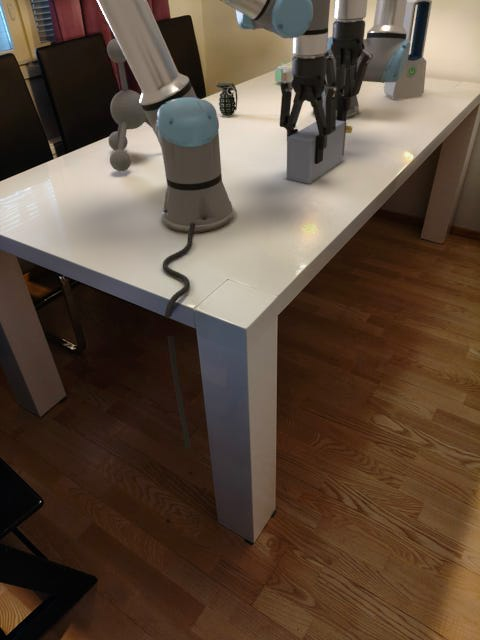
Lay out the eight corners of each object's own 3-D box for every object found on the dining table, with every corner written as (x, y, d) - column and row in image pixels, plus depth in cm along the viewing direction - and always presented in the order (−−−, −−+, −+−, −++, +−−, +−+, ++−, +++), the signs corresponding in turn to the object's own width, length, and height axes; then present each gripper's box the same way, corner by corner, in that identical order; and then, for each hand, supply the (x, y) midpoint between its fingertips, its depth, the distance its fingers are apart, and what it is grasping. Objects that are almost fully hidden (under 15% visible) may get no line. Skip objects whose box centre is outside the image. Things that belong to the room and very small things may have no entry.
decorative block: (298, 54, 217) (338, 57, 207) (297, 70, 220) (337, 74, 211) (266, 66, 200) (309, 70, 191) (266, 83, 204) (308, 87, 195)
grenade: (217, 117, 168) (214, 86, 162) (221, 112, 172) (219, 82, 166) (235, 117, 166) (233, 86, 160) (239, 113, 171) (238, 82, 165)
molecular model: (194, 162, 134) (180, 38, 116) (114, 177, 128) (87, 49, 110) (171, 138, 152) (156, 27, 133) (100, 151, 146) (75, 36, 127)
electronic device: (392, 100, 174) (405, 0, 156) (382, 95, 180) (394, -2, 162) (423, 96, 177) (440, -3, 158) (412, 91, 182) (427, -5, 164)
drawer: (335, 145, 137) (338, 114, 132) (352, 149, 135) (356, 116, 129) (295, 171, 124) (296, 137, 118) (313, 175, 121) (315, 140, 116)
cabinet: (320, 157, 133) (322, 118, 127) (341, 161, 130) (345, 121, 124) (286, 178, 122) (286, 137, 116) (308, 183, 119) (310, 141, 113)
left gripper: (358, 54, 104) (348, 161, 118) (281, 49, 113) (280, 148, 127) (342, 61, 99) (334, 171, 113) (263, 55, 109) (264, 157, 123)
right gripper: (382, 18, 114) (370, 123, 128) (332, 17, 121) (325, 117, 135) (368, 22, 109) (357, 130, 124) (317, 21, 116) (312, 124, 130)
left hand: (305, 159), depth 120 cm, fingers closed on cabinet, 6 cm apart
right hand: (341, 123), depth 129 cm, fingers closed
